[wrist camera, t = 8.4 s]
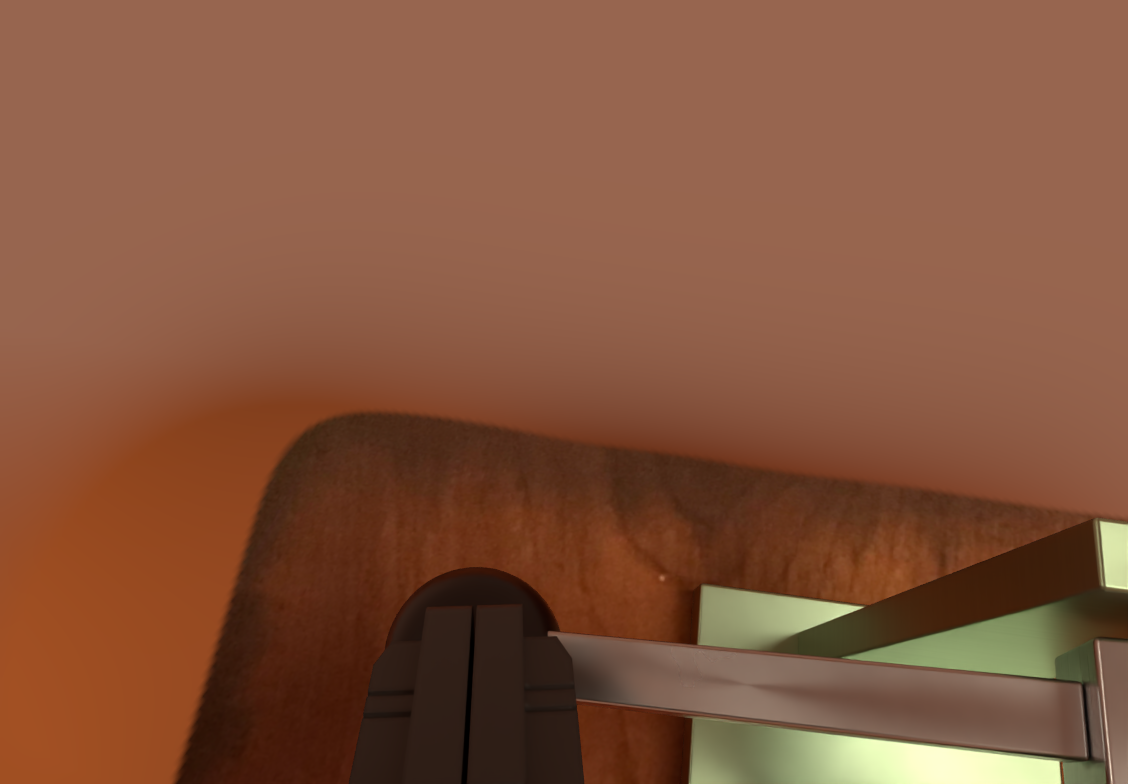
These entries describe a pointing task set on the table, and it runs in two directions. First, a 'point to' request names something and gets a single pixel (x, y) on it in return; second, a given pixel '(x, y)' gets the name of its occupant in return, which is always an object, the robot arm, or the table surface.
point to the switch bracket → (915, 657)
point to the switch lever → (831, 687)
